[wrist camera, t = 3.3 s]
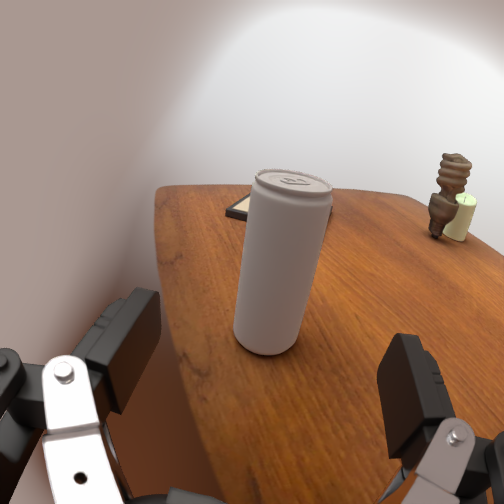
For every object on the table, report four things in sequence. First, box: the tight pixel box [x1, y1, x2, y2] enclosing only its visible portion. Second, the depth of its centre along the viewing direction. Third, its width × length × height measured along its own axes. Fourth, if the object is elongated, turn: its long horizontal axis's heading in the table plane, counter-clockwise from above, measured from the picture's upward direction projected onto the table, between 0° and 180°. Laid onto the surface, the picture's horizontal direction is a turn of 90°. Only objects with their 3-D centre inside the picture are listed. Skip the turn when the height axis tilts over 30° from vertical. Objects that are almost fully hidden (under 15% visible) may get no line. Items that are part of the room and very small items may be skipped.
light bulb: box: [428, 153, 472, 238], centre depth 45 cm, size 6×6×15 cm
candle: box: [442, 192, 477, 241], centre depth 50 cm, size 5×5×8 cm
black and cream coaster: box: [225, 193, 333, 221], centre depth 48 cm, size 13×13×1 cm
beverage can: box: [233, 169, 333, 355], centre depth 21 cm, size 5×5×12 cm
